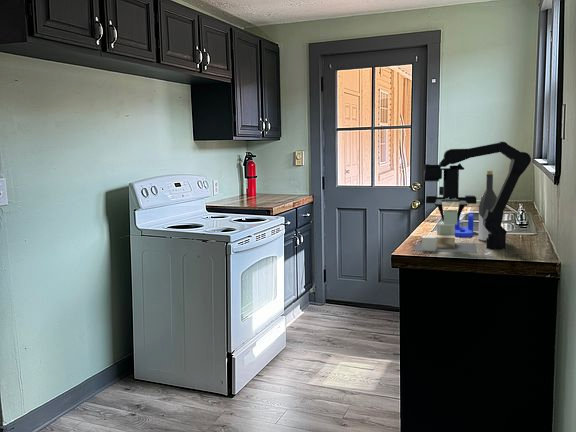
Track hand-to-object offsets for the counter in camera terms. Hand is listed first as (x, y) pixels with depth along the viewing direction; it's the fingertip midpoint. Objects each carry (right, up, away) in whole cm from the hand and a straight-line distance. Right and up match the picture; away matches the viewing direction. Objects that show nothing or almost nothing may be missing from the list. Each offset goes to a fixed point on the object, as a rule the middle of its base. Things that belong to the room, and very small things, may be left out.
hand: (450, 221), depth 214 cm
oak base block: (0, -10, +5) cm, 11 cm away
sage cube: (0, -1, 0) cm, 1 cm away
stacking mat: (-1, -11, +2) cm, 12 cm away
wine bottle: (+20, -9, +15) cm, 27 cm away
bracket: (+17, -7, +37) cm, 42 cm away
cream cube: (-9, -11, -2) cm, 14 cm away
